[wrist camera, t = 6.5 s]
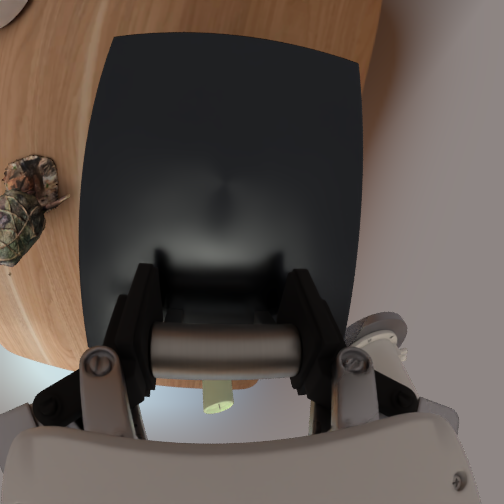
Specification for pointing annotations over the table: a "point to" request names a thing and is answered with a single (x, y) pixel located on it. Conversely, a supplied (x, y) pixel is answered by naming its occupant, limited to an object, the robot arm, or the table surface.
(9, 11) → the cup
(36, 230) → the camouflage figurine
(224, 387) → the candle
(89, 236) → the bin lid
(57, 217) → the table surface
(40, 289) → the table surface
